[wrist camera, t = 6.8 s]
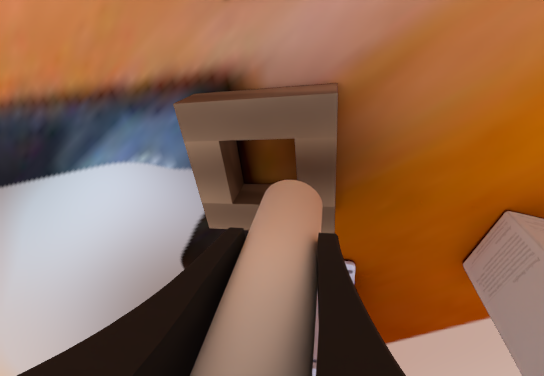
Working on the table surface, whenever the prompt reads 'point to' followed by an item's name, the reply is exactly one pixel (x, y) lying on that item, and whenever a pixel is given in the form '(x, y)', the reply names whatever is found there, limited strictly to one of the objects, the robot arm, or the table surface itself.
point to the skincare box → (514, 286)
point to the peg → (270, 292)
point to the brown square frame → (256, 126)
